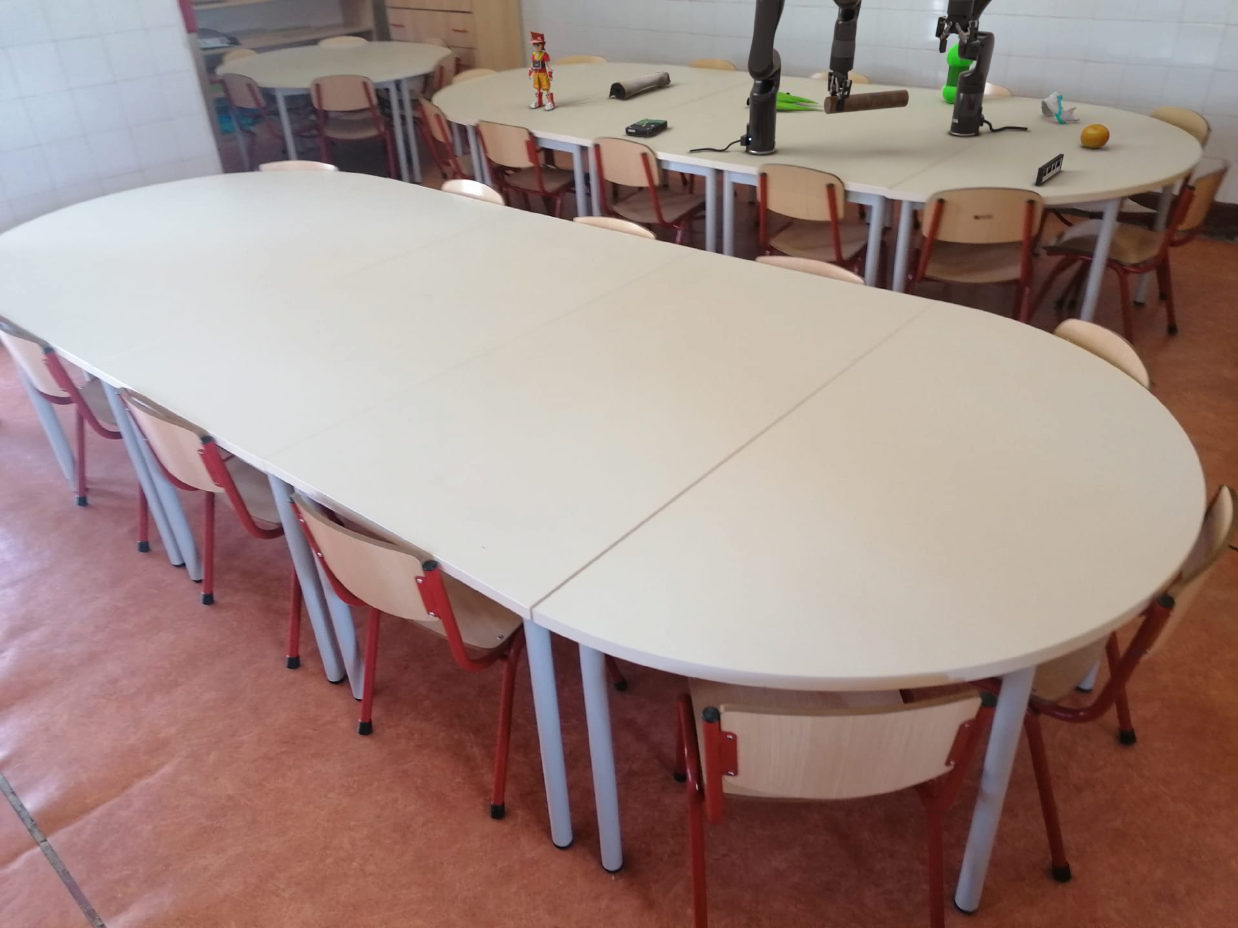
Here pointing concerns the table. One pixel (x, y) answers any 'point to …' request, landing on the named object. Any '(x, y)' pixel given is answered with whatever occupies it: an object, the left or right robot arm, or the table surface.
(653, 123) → the disk drive
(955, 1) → the right robot arm
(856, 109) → the rod
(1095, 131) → the fruit
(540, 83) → the toy
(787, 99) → the toy
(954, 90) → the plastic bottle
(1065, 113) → the anatomical model
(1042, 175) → the midi keyboard
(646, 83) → the rolled mat
